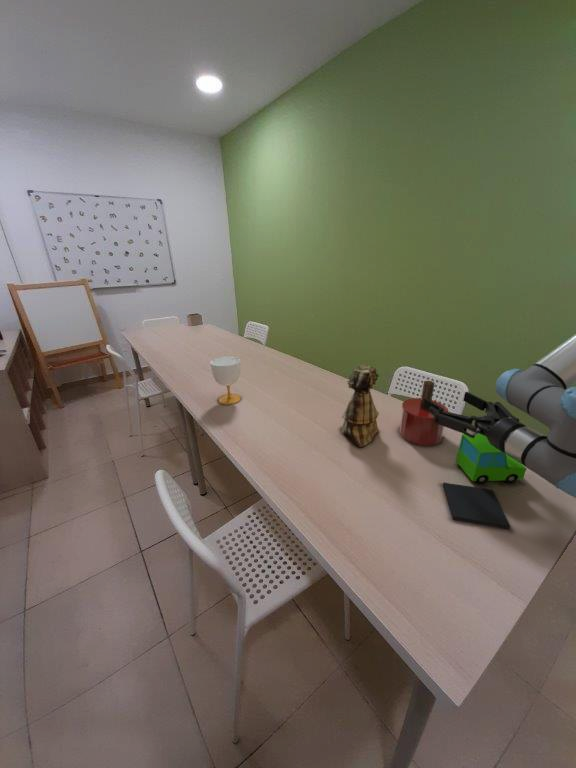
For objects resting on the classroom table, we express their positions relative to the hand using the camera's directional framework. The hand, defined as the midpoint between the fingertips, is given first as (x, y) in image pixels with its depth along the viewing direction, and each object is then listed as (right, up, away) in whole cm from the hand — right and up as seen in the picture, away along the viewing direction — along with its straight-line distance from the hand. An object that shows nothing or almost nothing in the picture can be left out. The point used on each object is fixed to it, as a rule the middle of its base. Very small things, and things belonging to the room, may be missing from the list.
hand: (445, 399), depth 85 cm
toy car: (+9, -20, -4) cm, 22 cm away
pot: (-1, -12, +13) cm, 18 cm away
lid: (-2, -4, +9) cm, 10 cm away
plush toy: (-22, -12, +15) cm, 29 cm away
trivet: (-1, -24, -14) cm, 28 cm away
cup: (-69, -2, +41) cm, 80 cm away
